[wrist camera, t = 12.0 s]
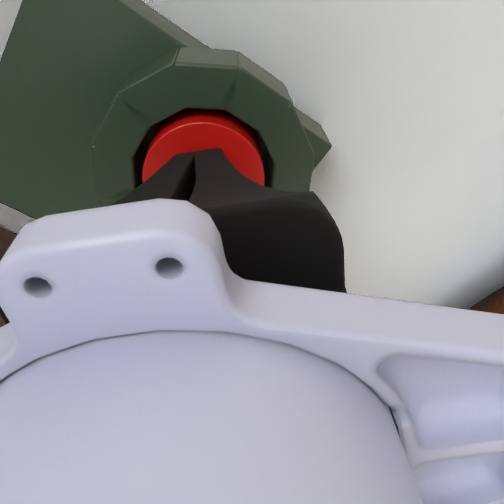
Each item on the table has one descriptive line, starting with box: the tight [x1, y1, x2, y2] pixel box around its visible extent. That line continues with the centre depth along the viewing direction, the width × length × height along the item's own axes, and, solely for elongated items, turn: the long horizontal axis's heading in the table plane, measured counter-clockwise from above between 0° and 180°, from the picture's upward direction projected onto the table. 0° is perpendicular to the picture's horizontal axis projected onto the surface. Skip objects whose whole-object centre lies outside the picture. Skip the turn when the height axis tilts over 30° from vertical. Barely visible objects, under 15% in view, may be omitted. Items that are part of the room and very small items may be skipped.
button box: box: [0, 0, 331, 219], centre depth 16 cm, size 10×9×4 cm
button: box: [142, 108, 265, 186], centre depth 15 cm, size 4×4×2 cm
